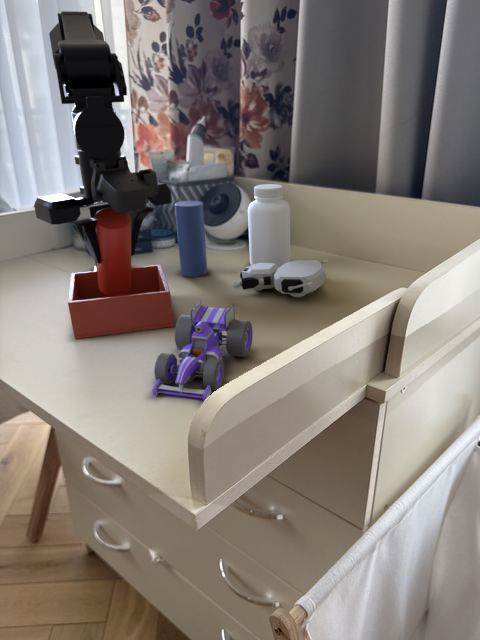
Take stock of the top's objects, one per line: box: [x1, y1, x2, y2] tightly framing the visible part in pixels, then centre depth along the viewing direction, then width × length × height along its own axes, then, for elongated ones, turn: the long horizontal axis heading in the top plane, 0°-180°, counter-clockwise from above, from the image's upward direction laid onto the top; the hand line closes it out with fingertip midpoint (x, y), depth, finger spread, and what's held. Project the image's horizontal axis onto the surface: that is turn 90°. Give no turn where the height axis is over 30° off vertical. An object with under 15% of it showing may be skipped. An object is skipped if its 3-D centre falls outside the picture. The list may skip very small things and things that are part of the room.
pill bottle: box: [247, 183, 291, 267], centre depth 103 cm, size 8×8×15 cm
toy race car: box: [151, 300, 254, 403], centre depth 68 cm, size 10×15×6 cm, turn 165°
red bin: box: [67, 264, 174, 340], centre depth 84 cm, size 13×14×6 cm
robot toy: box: [231, 259, 329, 299], centre depth 93 cm, size 12×4×15 cm
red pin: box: [94, 208, 132, 297], centre depth 81 cm, size 5×5×13 cm
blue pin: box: [174, 200, 208, 278], centre depth 100 cm, size 5×5×13 cm
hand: (114, 259), depth 81 cm, fingers closed on red pin, 5 cm apart
